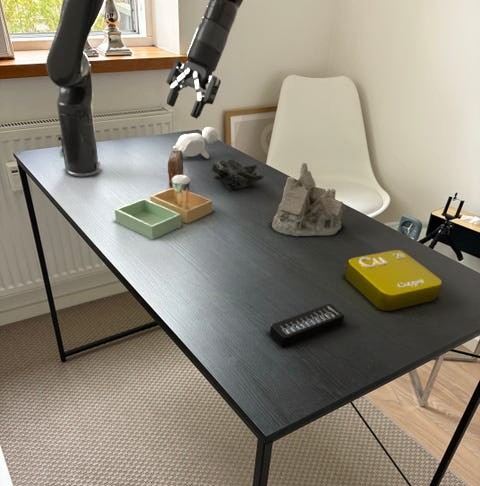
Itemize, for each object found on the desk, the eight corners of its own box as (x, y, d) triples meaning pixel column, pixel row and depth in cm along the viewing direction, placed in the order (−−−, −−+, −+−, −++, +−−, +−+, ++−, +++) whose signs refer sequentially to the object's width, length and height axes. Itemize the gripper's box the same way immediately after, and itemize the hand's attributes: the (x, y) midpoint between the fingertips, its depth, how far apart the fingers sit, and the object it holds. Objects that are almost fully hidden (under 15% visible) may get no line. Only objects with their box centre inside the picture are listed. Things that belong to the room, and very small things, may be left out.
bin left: (115, 221, 122) (114, 209, 120) (144, 210, 128) (144, 198, 126) (152, 239, 116) (151, 226, 114) (181, 226, 122) (181, 214, 120)
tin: (178, 193, 138) (177, 164, 133) (167, 192, 138) (166, 163, 133) (184, 173, 150) (184, 146, 145) (174, 173, 150) (173, 145, 145)
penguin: (186, 170, 161) (226, 149, 163) (177, 146, 155) (218, 125, 157) (177, 161, 167) (215, 141, 169) (168, 138, 161) (207, 118, 163)
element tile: (382, 313, 97) (387, 293, 95) (341, 275, 108) (345, 256, 105) (440, 299, 103) (447, 280, 100) (395, 264, 113) (400, 246, 111)
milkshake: (194, 207, 131) (194, 170, 125) (184, 214, 127) (184, 177, 121) (179, 203, 132) (179, 167, 126) (169, 210, 128) (168, 173, 122)
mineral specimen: (244, 182, 134) (236, 146, 133) (207, 196, 140) (199, 161, 139) (269, 185, 146) (261, 152, 145) (233, 197, 153) (226, 165, 152)
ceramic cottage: (262, 224, 125) (273, 168, 116) (298, 208, 136) (310, 155, 127) (313, 249, 118) (328, 191, 109) (346, 230, 129) (362, 176, 120)
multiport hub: (268, 334, 90) (270, 324, 89) (328, 312, 97) (330, 302, 95) (282, 348, 87) (284, 338, 86) (343, 324, 94) (345, 314, 92)
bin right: (150, 207, 130) (150, 196, 128) (176, 197, 136) (176, 186, 134) (186, 223, 124) (186, 211, 122) (212, 212, 130) (212, 200, 128)
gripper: (177, 29, 117) (152, 96, 122) (221, 46, 111) (192, 116, 116) (196, 43, 123) (171, 106, 128) (238, 60, 117) (210, 126, 122)
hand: (181, 111), depth 122 cm, fingers open, 8 cm apart
